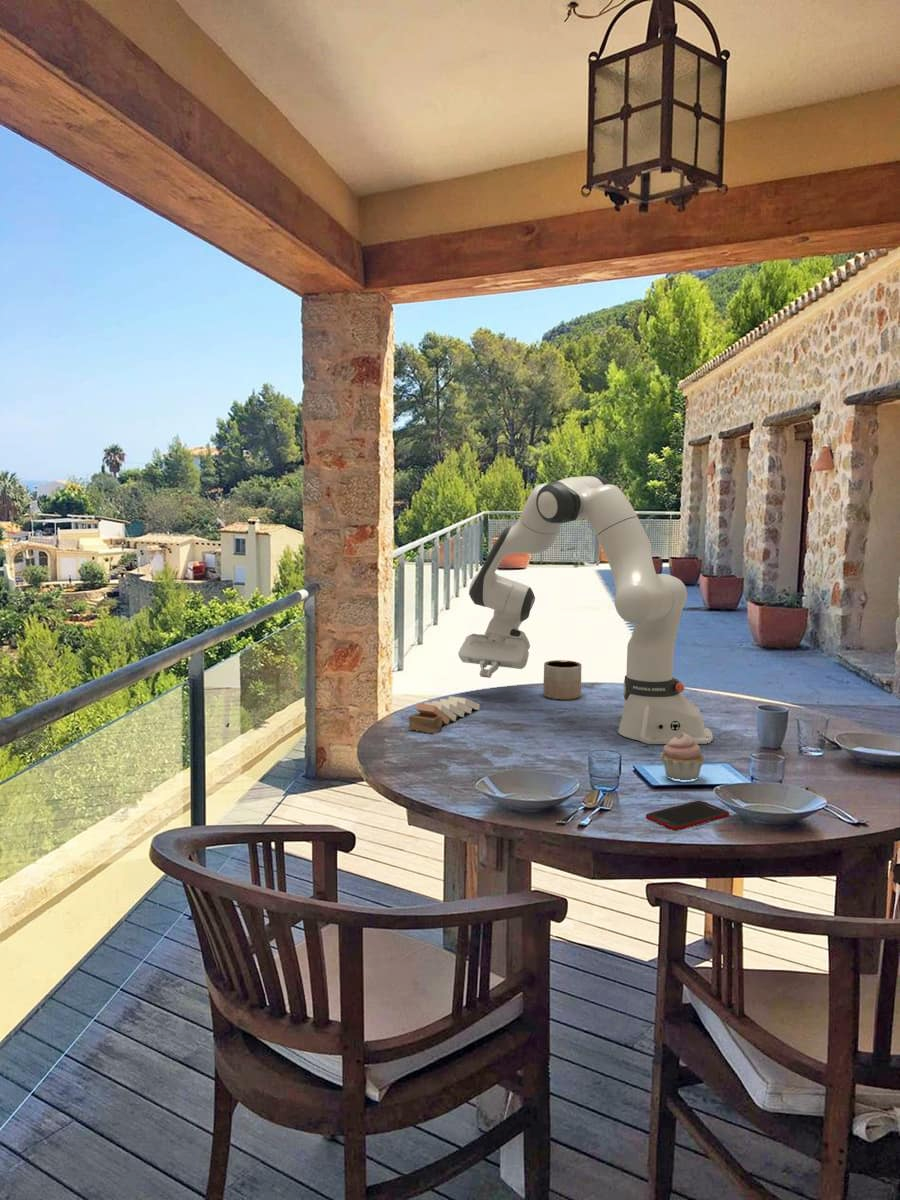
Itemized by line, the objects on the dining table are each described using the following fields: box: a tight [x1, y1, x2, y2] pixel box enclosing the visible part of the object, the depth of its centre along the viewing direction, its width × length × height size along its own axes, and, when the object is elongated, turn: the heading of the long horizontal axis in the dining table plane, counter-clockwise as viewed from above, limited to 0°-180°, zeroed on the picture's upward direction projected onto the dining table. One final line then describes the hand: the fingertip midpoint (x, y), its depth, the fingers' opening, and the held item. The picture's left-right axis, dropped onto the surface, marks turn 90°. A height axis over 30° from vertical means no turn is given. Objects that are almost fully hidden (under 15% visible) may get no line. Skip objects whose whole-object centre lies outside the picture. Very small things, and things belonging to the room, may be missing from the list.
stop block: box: [408, 712, 443, 735], centre depth 223 cm, size 4×7×4 cm, turn 61°
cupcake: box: [659, 732, 706, 780], centre depth 187 cm, size 9×9×10 cm
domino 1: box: [415, 702, 450, 726], centre depth 226 cm, size 2×5×9 cm
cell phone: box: [645, 800, 730, 831], centre depth 166 cm, size 8×15×1 cm, turn 122°
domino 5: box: [447, 695, 481, 711], centre depth 240 cm, size 2×5×9 cm
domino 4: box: [439, 698, 473, 715], centre depth 236 cm, size 2×5×9 cm
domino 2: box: [424, 701, 458, 723], centre depth 229 cm, size 2×5×9 cm
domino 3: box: [432, 700, 466, 718], centre depth 233 cm, size 2×5×9 cm
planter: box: [542, 659, 582, 701], centre depth 259 cm, size 11×11×10 cm
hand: (484, 676), depth 251 cm, fingers closed
